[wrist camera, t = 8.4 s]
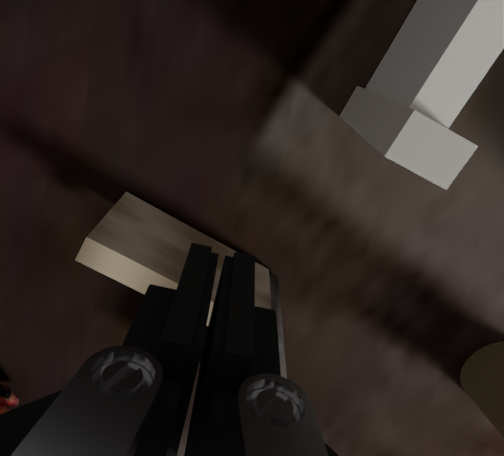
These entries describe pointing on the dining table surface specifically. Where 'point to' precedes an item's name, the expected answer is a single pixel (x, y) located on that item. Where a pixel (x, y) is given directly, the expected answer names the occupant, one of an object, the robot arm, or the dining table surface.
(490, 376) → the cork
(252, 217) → the dining table surface
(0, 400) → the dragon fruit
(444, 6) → the wall frame
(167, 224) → the gate
